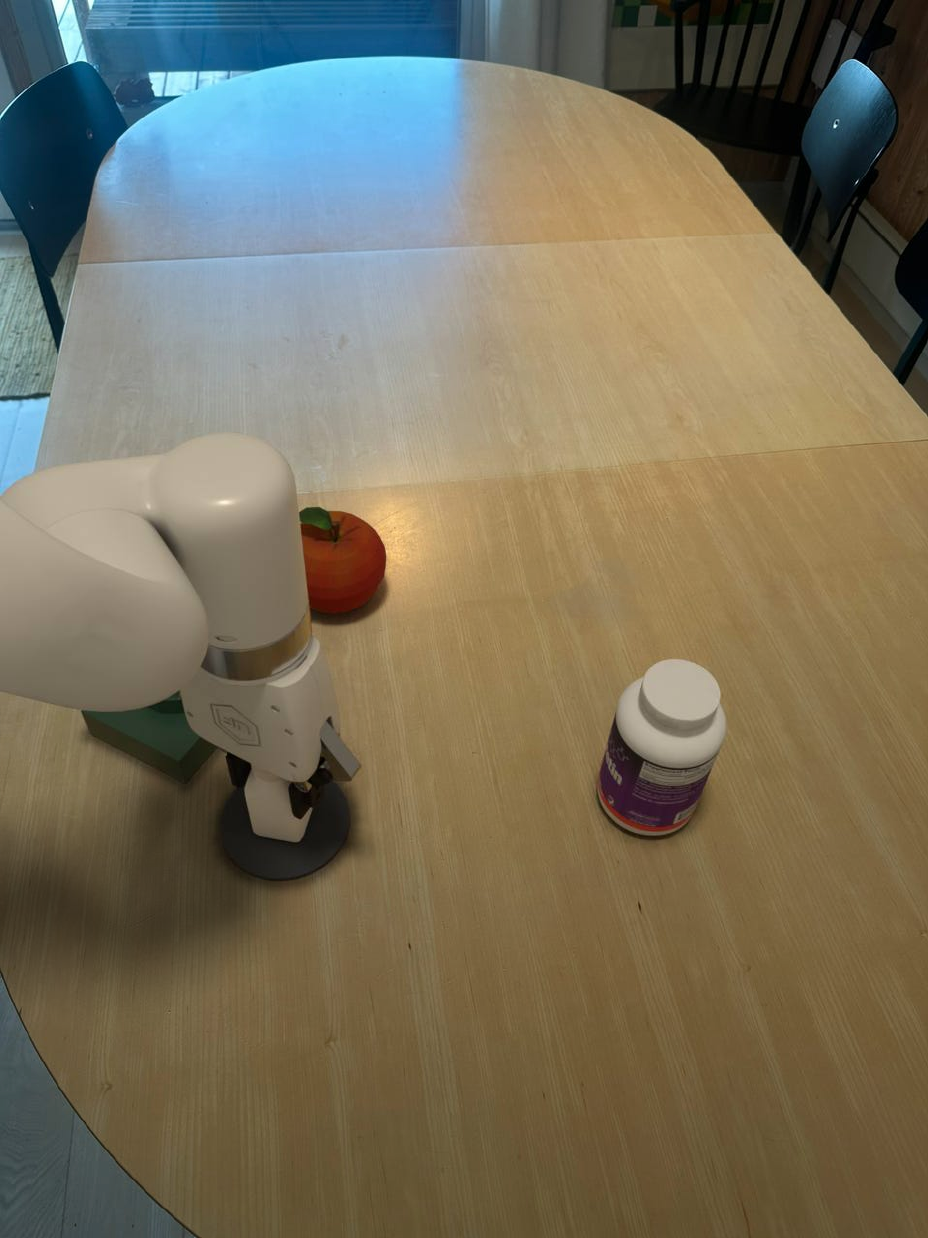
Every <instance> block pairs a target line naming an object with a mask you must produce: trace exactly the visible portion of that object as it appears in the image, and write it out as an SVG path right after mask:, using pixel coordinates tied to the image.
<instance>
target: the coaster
mask: <svg viewBox="0 0 928 1238" xmlns="http://www.w3.org/2000/svg"><path fill="white" fill-rule="evenodd" d="M245 785H246V784H245ZM245 785H244V786H243V787H242V788H241V787H240V788H237V789H236V790H234V792H233V793H232V794H231V795H230V797H229V798H228V800H227V802H226V804H225V806H224V808H223V811H222V813H221V818H220V826H219V831H220V839H221V843H222V846H223V848H224V851H225V852H226V854H227V856H228V858H229V859H230V860H231V861H232V863H234V864H235V866H237V867H238V868H239V869H240V870H242V871H243V872H245V873H246V874H249V875H251V876H253V877H256V878H259V879H262V880H267V881H274V882H275V881H277V882H282V881H283V882H284V881H291V880H297V879H301V878H305V877H306V876H310V875H311V874H314V873H316V872H317V871H319V870H320V869H322V868H323V867H324V866H326V865H327V864H329V862H331V860H333V859H334V858H335V857H336V856H337V854H339V852H340V850H341V849H342V847H343V846H344V844H345V842H346V839H347V837H348V834H349V830H350V825H351V824H350V823H351V814H350V813H351V812H350V807H349V803H348V800H347V797H346V796H345V794H344V792H343V790H342V789H341V788H340V786H339V785H338V784H337V782H336V781H335V780H331V782H330V783H329V784H324V787H325V794H324V797H323V799H322V800H321V802H320V803H319V804H318V806H317V807H316V808H313V809H312V812H311V815H310V818H309V821H308V824H307V827H306V830H305V833H304V836H303V837H302V839H301V840H300V841H299V842H290V841H285V840H279V839H274V838H269V837H263V836H259V835H257V834H255V833H254V832H253V828H252V823H251V819H250V815H249V810H248V806H247V802H246V798H245V790H244V789H245Z"/></svg>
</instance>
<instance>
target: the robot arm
mask: <svg viewBox="0 0 928 1238" xmlns="http://www.w3.org/2000/svg"><path fill="white" fill-rule="evenodd" d="M299 512H300V509H299V501H298V492H297V484H296V479H295V474H294V471H293V469H292V467H291V464H290V463H289V461H288V459H287V458H286V457H285V455H284V454H283V453H282V451H280V450H279V449H278V448H277V447H275V446H274V445H273V444H271V443H270V442H268V441H267V440H265V439H263V438H262V437H258V436H255V435H252V434H248V433H242V432H236V431H218V432H210V433H205V434H201V435H198V436H195V437H192V438H189V439H187V440H185V441H183V442H182V443H179V444H177V445H176V446H175V447H173V448H171V449H170V450H168V451H165V452H159V453H152V454H145V455H137V456H129V457H117V458H110V459H100V460H99V459H98V460H88V461H87V460H86V461H80V462H79V461H78V462H72V463H65V464H59V465H55V466H50V467H46V468H43V469H40V470H37V471H35V472H32V473H30V474H27V475H25V476H22V477H21V478H19V479H18V480H16V481H15V482H13V483H12V484H11V485H10V486H8V487H7V488H6V489H5V490H4V492H2V494H0V692H1V693H5V694H9V695H12V696H18V697H20V698H25V699H30V700H33V701H38V702H41V703H44V704H49V705H54V706H59V707H63V708H68V709H73V710H74V709H75V710H80V711H81V710H86V711H99V712H117V711H127V710H134V709H140V708H143V707H147V706H150V705H153V704H156V703H158V702H160V701H162V700H165V699H167V698H168V697H170V696H171V695H173V694H174V693H176V692H177V691H179V690H180V693H179V696H180V698H181V699H182V703H183V707H184V711H185V715H186V718H187V721H188V723H189V725H190V727H191V729H192V730H193V731H194V732H195V733H196V734H198V735H199V736H200V737H202V738H204V739H205V740H207V741H209V742H211V743H212V744H214V745H216V746H217V748H216V749H218V750H219V751H221V752H222V753H225V757H224V758H225V761H226V765H227V769H228V773H229V778H230V782H231V785H232V786H233V787H235V788H237V789H238V788H240V787H241V788H242V787H243V786H244V785H245V784H246V782H247V779H248V777H249V774H250V771H251V769H252V767H251V763H252V764H254V765H256V766H258V767H260V768H262V769H264V770H266V771H268V772H270V773H272V774H274V775H276V776H279V777H281V778H283V779H286V780H288V781H292V782H291V784H290V785H289V787H288V791H289V797H290V803H291V809H292V814H293V816H294V817H296V818H298V819H300V820H301V819H302V818H303V817H304V815H305V814H306V813H307V811H308V810H309V809H310V807H311V808H316V807H317V806H318V804H319V803H320V802H321V800H322V799H323V797H324V794H325V787H324V784H329V783H330V782H331V780H332V781H334V782H335V783H338V782H340V783H347V782H353V780H354V778H355V777H356V775H357V774H358V773H359V771H361V769H362V764H361V762H360V761H359V760H358V759H357V757H356V756H355V755H354V754H353V752H352V751H351V749H350V748H348V746H347V745H346V743H345V742H344V741H343V740H342V738H341V716H340V709H339V702H338V695H337V692H336V687H335V682H334V679H333V676H332V672H331V668H330V665H329V662H328V660H327V657H326V654H325V651H324V649H323V647H322V644H321V642H320V640H319V639H318V638H317V637H316V636H315V635H313V626H312V625H313V624H312V619H311V608H310V607H309V599H308V591H307V582H306V572H305V563H304V554H303V545H302V535H301V526H300V523H301V522H300V517H299Z"/></svg>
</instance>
